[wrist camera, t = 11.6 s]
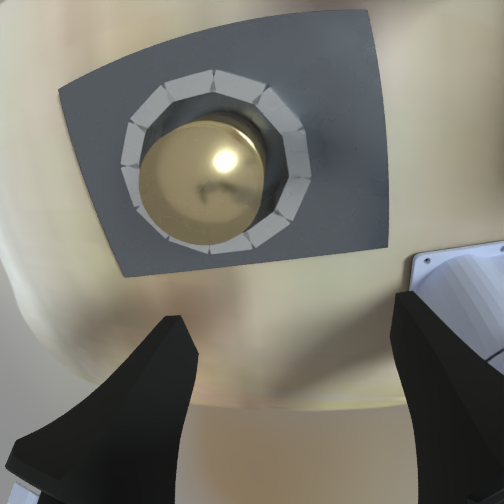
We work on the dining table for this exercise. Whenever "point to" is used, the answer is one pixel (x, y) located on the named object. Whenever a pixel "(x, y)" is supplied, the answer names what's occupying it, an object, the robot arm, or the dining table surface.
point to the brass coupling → (205, 179)
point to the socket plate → (263, 119)
